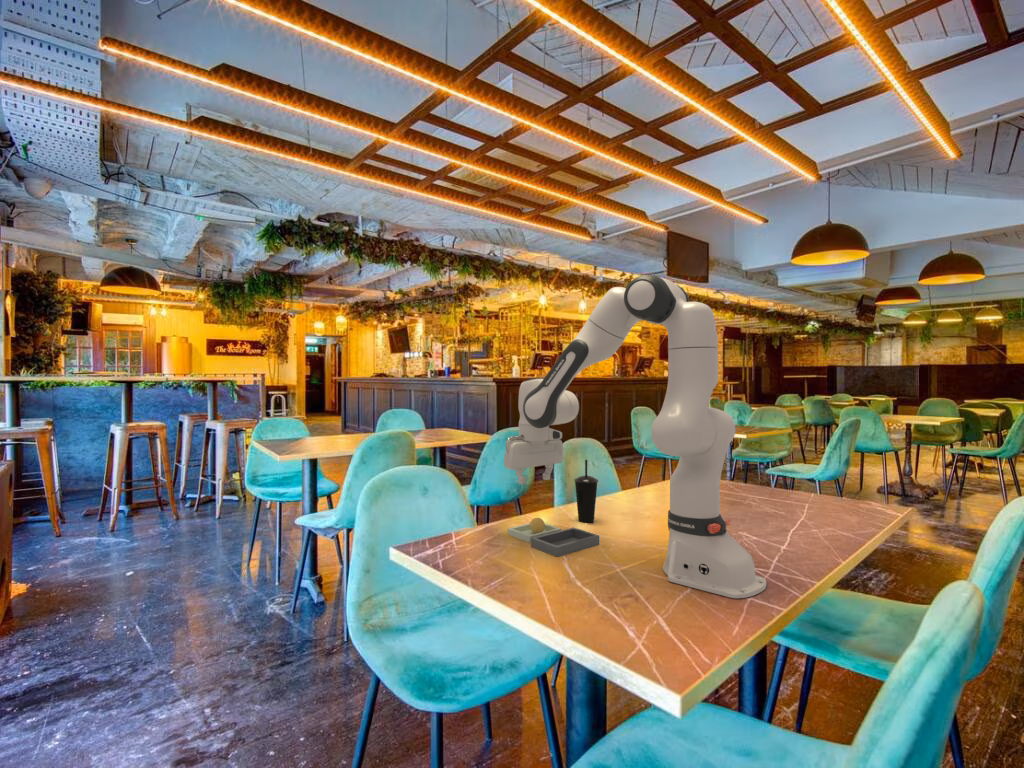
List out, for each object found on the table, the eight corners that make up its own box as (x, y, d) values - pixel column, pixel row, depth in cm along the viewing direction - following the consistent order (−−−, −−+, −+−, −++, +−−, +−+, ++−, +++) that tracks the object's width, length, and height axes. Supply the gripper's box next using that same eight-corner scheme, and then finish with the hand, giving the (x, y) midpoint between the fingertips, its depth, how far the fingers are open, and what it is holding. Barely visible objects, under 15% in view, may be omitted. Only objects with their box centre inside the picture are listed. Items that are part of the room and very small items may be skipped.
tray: (561, 536, 149) (561, 528, 149) (529, 544, 142) (529, 536, 142) (538, 528, 157) (538, 521, 157) (507, 536, 150) (507, 528, 150)
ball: (544, 537, 149) (550, 523, 151) (534, 531, 147) (540, 517, 148) (534, 533, 153) (540, 519, 154) (524, 527, 150) (530, 513, 152)
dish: (599, 546, 141) (599, 535, 140) (556, 559, 131) (556, 547, 131) (573, 537, 148) (573, 527, 148) (531, 549, 138) (531, 538, 138)
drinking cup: (600, 525, 161) (599, 461, 161) (575, 525, 161) (575, 461, 161) (596, 518, 168) (596, 458, 168) (573, 518, 169) (573, 458, 168)
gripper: (512, 437, 140) (513, 488, 140) (566, 432, 153) (566, 478, 153) (498, 435, 145) (499, 484, 145) (551, 431, 158) (552, 476, 158)
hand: (534, 481), depth 149 cm, fingers open, 8 cm apart
